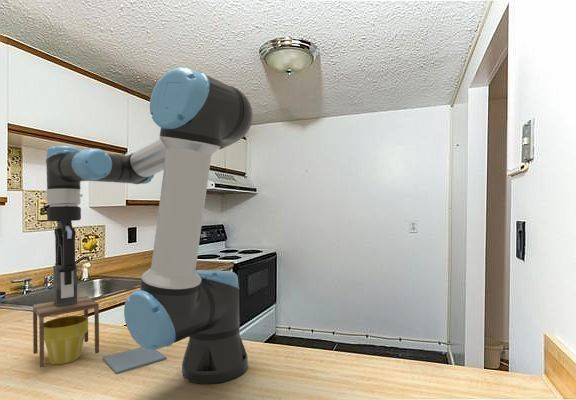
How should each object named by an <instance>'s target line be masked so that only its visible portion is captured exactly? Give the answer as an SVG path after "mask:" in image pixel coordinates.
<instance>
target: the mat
mask: <svg viewBox="0 0 576 400" xmlns="http://www.w3.org/2000/svg"><path fill="white" fill-rule="evenodd" d="M167 357H168V356H165V355H164V354H163V353H161V352H160V351H158V349H156V350H149V349H145V348H143V347H142V346H139V347H136V348H132V349H128V350H125V351H121V352H117V353H113V354H109V355H106V356H102V359H101V360H103V361H104V363H105V364H106V365H107V366H108V367H109V369H111V370H112V372H113V373H115V375H118V374H122V373H125V372H128V371H132V370H135V369H139V368H143V367H145V366H148V365H151V364H155V363H158V362H162V361H165V360H167V359H168V358H167Z"/></svg>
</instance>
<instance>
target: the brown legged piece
mask: <svg viewBox="0 0 576 400" xmlns="http://www.w3.org/2000/svg"><path fill="white" fill-rule="evenodd" d="M75 266H76V268H75V269H74V271H73V276H74V297H68V298H62V299H61V273H59V272H58V271H59V270H61V269H62V265H53V266H52V267H53V268H52V269H53V273H52V274H53V301H50V302H49V301H48V302H42V303H37V304H32V327H33V328H32V330H33V332H32V338H33V339H32V340H33V342H32V343H33V344H32V345H33V347H32V349H33V355H36V354H38V352H39V368H44V367H45V341H44V323H45V318H47V317H54V316H60V315H65V314H70V313H76V312H81V311H83V316H85V317H87V318H88V319H89V310H92V309H94V316H93V317H94V353H95V354H99V353H100V321H99V320H100V314H99V313H100V311H99V309H100V308H99V303H98V302H97V301H95V300H93V298H91V297H89V296H87V295H86V296H80V297H78V279H77V278H78V266H77V264H75ZM38 319H39V320H38ZM38 321H39V323H38ZM38 326H39V329H38ZM38 333H39V337H38ZM38 338H39V340H38ZM38 341H39V345H38ZM88 342H89V330H88V331H87V332H86V333H85V336H84V341H83V343H88ZM38 346H39V351H38Z"/></svg>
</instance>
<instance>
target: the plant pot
mask: <svg viewBox="0 0 576 400" xmlns="http://www.w3.org/2000/svg"><path fill="white" fill-rule="evenodd" d="M87 331H88V332H89V317H88V318H87V317H85V316H84V315H68V316H62V317H57V318H52V319H50V320H47V321H44V345H45V348H46V351H47V355H48V359H49V362H50V364H52V365H64V364H68V363H72V362H74V361H76V360H78V359H79V358H80V357H81V354H82V353H81V352H82V348H83V345H84V336H85V333H86V332H87Z"/></svg>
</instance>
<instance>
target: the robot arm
mask: <svg viewBox="0 0 576 400" xmlns="http://www.w3.org/2000/svg"><path fill="white" fill-rule="evenodd" d="M149 113H150V115H152V116H151V119H152V120H153V122H154V123H155V124H156V125H157V126H158V127H159V128H160V132H159V139H157V140H155V141H154V142H152V143H149V144H148V145H145V146H144V147H141V148H140V149H138V150H136V151H134V152H132V153H130V154H128V155H126V154H125V155H124V154H117V153H108V152H105V150H102V149H99V148H84V149H82V150H79V148H77V147H75V146H69V145H54V146H49V147H48V148H47V150H46V159H45V163H46V166H45V167H46V204H47V205H48V207H47V208H46V214H47V215H46V216H47V217H46V221H48V222H57V227H56V228H54V238H55V241H54V243H55V246H54V247H55V253H54V254H55V263H54V264H55V265H54V266H56V265H62V269H61V270H59V271H58V272H59V273H61V299H62V298H68V297H74V276H73V271H74V269H75V268H76V266H75V265H76V233H77V232H76V229H75V227H73V221H74V222H75V221H81V220H82V213H81V212H82V208H81V207H80V206H79V205H81V198H82V197H83V196H84V194H83V193H82V192H81V182H87V181H88V182H99V183H100V182H101V183H103V182H104V183H105V182H106V183H120V184H133V185H142V184H143V185H144V184H145V185H146V184H149V183H151V181H152V180H153V179H154V176H155V175H156V174H157V173H160V172H162V173H163V174H162V180H161V181H162V182H161V190H160V198H159V204H158V212H157V213H158V214H157V220H156V228H155V236H154V242H153V243H154V244H153V251H152V252H153V253H152V259H151V265H150V266H151V267H150V268H149V269H147V270H146V271H145V272H144V273H142V275H141V279H140V280H141V281H140V288H139V289H138V290H135V291H133V292H132V293H130V294H129V296H128V297H127V298H126V299H125V302H124V307H123V308H124V309H123V314H124V315H123V316H124V322H125V325H126V329H127V330H128V332H129V335H130V336H131V338H132V339H133V340H134V341H135V342H136V343H137V345H139V347H143V348H145V349H149V350H159V349H162V348H165V347H171V346H172V345H174V344H175V343H177V342H180V341H182V340H184V339H187V338H188V342H187V345H186V349H185V352H184V355H183V359H182V363H181V375H182V377H183V378H184V379H185V380H187V381H189V382H192V383H195V384H205V385H206V384H208V385H209V384H219V383H224V382H228V381H231V380H234V379H236V378H239V377H240V376H242V375H243V374H244V373H245V372H246V371H247V370H248V368H249V366H248V365H249V363H248V361H249V360H248V354H247V352H246V348H245V345H244V342H243V340H242V336H241V334H240V333H241V332H240V331H241V330H240V292H239V291H240V287H239V277H238V275H237V273H235V272H234V271H230V270H216V269H197V270H196V267H197V261H198V255H199V254H198V253H199V246H200V241H201V240H200V239H201V231H202V225H203V217H204V212H205V205H206V203H205V202H206V196H207V190H208V181H209V177H210V176H209V175H210V167H211V161H212V155H213V154H214V153H216V152H218V151H219V150H223V149H224V148H227V147H230V146H232V145H233V144H235V143H238V142H239V141H240V140H241V139H242V138H243V139H244V137H245V136H246V134H247V133H248V132H249V130H250V129H251V126H252V122H253V116H254V115H253V109H252V105H251V103H250V100H249V99H248V97H247V96H246V95H245V93H243V92H242V91H241V90H240V89H238V88H236V87H234V86H231V85H229V84H226V83H224V82H222V81H219V80H218V79H216V78H213V77H211V76H209V75H208V74H205V73H204V72H202V71H199V70H198V71H197V70H193V69H192V68H191V69H190V68H187V67H175V68H173V69H170V70H169V71H167V72H166V73H164V74H163V76H162V77H161V78H159V79H158V81H157V82H156V84H155V85H154V87H153V90H152V92H151V95H150V99H149Z"/></svg>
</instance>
